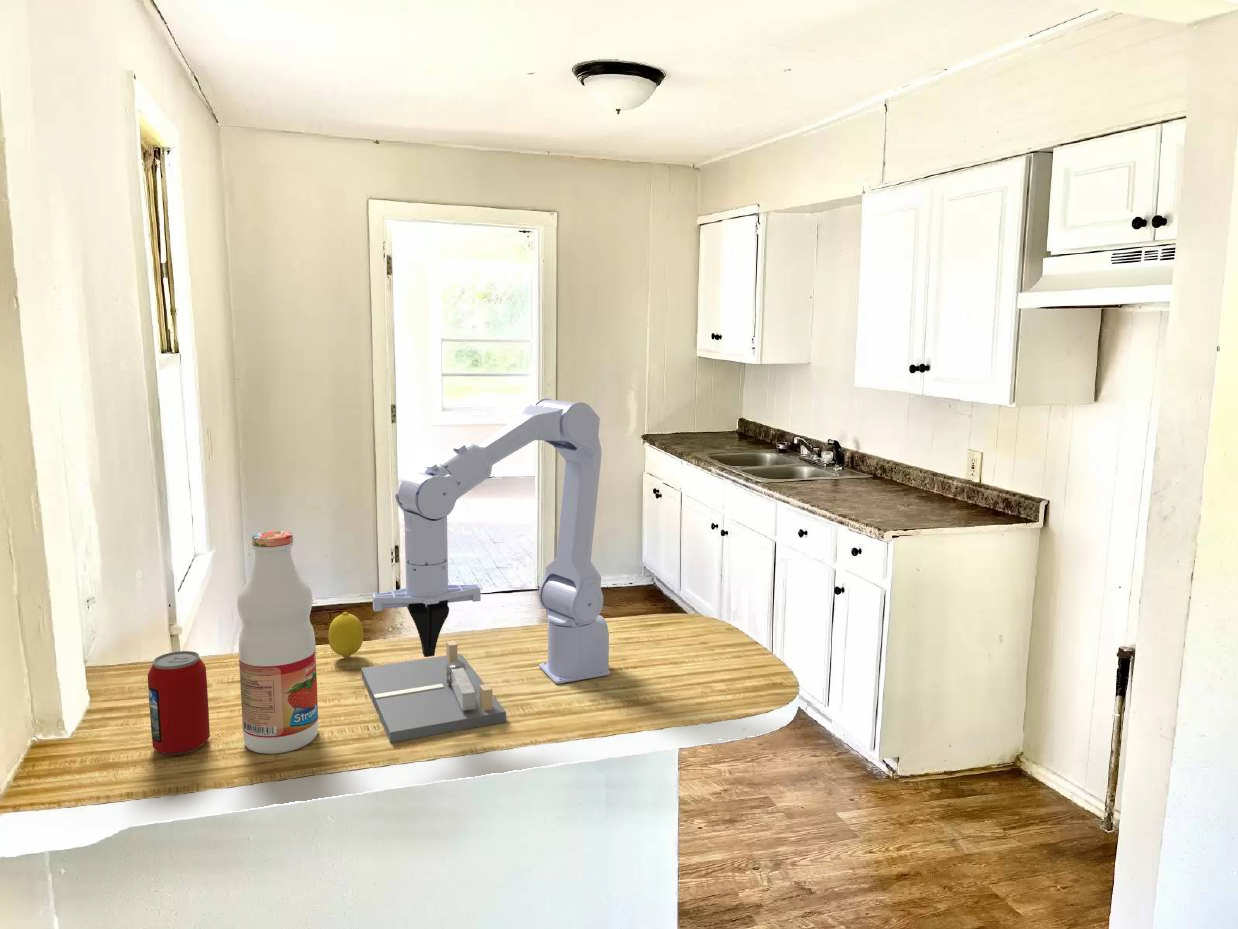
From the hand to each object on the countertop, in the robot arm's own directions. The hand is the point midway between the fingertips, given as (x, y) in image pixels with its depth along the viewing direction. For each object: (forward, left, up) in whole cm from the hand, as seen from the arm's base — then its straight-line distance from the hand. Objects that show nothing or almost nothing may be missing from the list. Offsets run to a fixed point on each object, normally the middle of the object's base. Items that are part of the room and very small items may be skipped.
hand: (428, 654), depth 121 cm
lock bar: (-5, -2, -7) cm, 9 cm away
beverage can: (+32, -4, -10) cm, 33 cm away
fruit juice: (+20, -1, -10) cm, 22 cm away
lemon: (+8, -27, -10) cm, 30 cm away
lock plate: (-1, -6, -9) cm, 11 cm away
